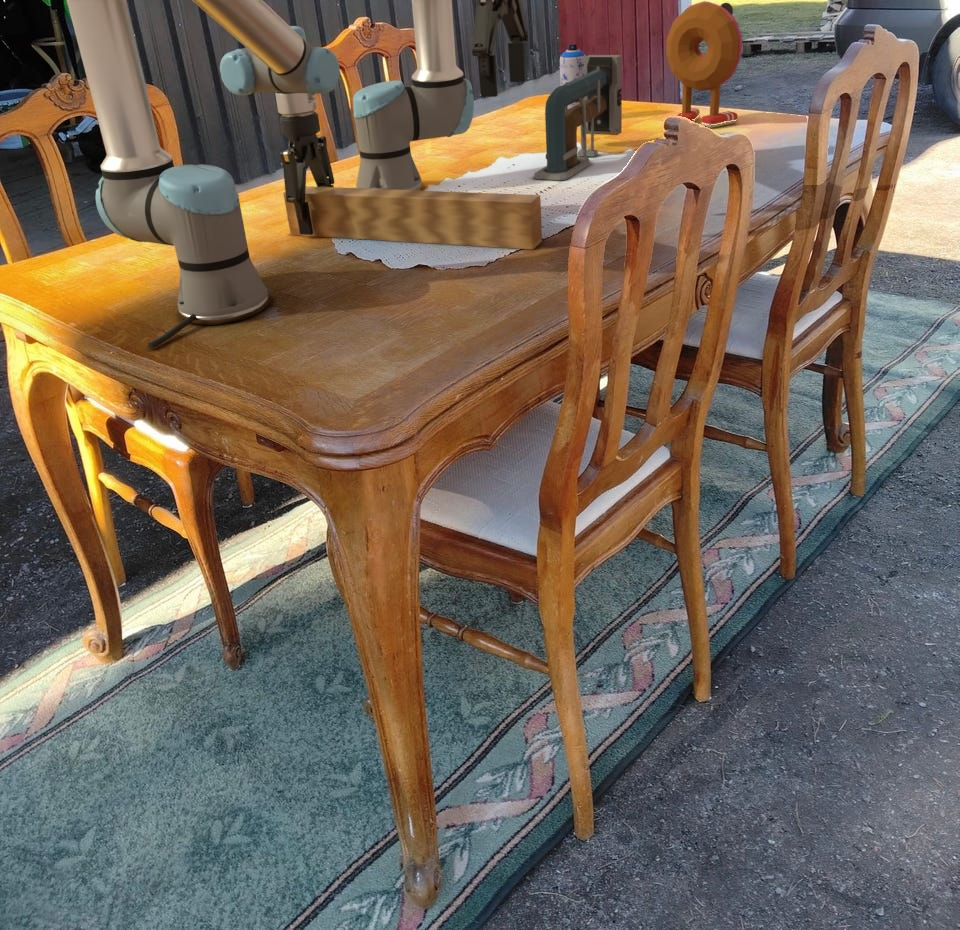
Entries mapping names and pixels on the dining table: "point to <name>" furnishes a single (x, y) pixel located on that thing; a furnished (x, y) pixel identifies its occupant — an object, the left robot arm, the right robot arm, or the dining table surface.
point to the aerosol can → (572, 66)
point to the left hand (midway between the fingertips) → (317, 227)
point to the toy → (705, 56)
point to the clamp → (582, 116)
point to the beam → (423, 216)
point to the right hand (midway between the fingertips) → (504, 89)
